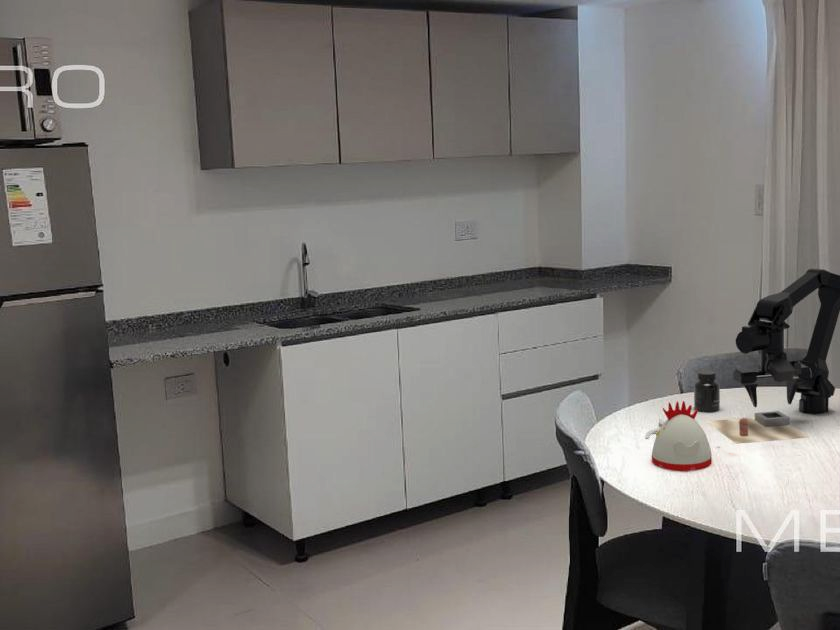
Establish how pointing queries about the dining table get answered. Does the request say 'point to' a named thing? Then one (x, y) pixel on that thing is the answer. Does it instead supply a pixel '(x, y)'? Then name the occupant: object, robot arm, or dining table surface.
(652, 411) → the dining table surface
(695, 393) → the supplement bottle
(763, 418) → the grey square frame
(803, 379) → the robot arm
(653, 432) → the pliers
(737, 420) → the keeper board
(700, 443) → the kitchen timer
